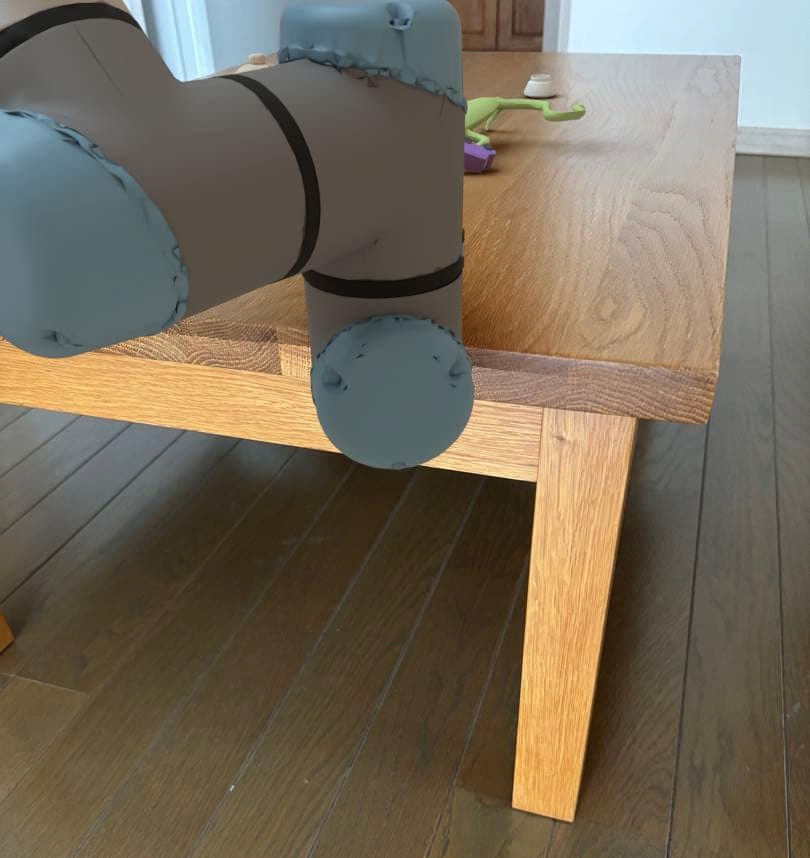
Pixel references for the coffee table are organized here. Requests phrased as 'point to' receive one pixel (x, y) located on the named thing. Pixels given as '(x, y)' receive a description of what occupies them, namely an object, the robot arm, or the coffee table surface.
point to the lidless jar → (540, 87)
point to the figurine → (489, 108)
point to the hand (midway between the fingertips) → (351, 189)
